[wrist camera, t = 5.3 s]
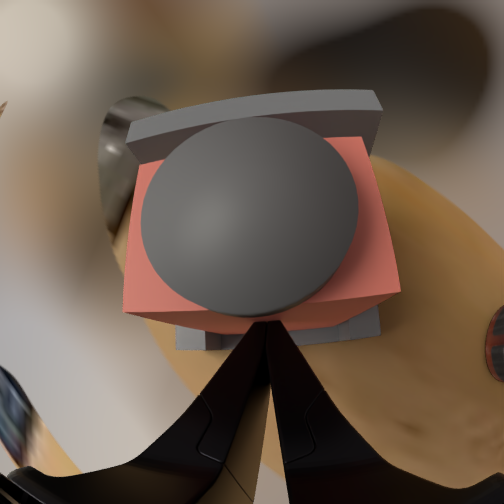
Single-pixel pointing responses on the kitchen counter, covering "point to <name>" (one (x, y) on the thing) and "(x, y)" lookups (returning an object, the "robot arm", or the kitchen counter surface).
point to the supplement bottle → (496, 345)
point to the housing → (281, 107)
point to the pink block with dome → (258, 231)
